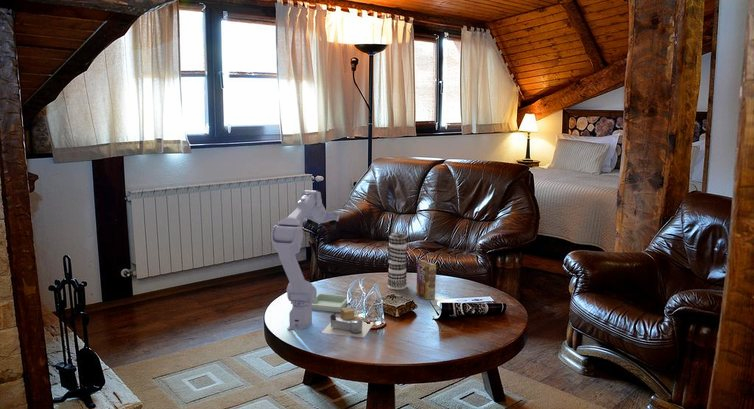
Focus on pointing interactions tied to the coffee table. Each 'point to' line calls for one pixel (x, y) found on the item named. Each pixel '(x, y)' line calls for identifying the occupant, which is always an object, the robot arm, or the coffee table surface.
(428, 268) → the candy box
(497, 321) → the coffee table surface
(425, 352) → the coffee table surface
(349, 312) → the block
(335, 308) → the tray
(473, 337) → the coffee table surface
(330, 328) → the board
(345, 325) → the crank
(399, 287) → the patterned cylinder
